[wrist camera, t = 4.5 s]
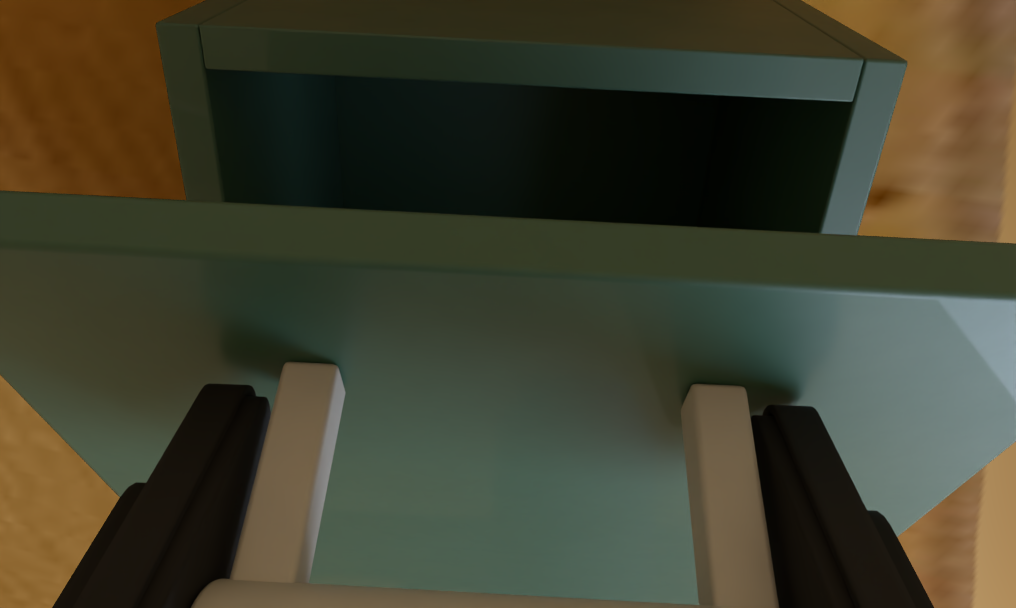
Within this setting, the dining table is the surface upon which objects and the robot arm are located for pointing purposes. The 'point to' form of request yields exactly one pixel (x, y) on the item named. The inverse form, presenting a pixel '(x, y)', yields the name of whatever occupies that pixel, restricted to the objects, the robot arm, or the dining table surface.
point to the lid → (504, 386)
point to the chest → (533, 109)
